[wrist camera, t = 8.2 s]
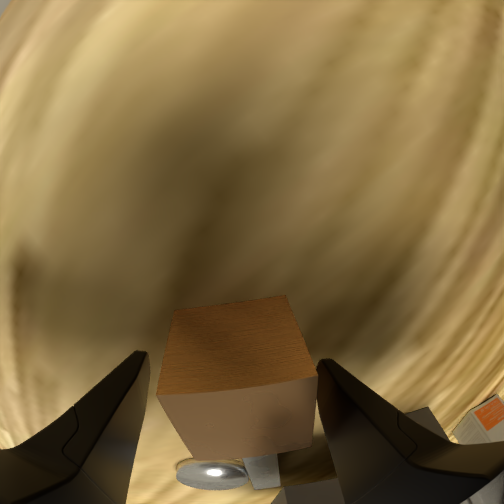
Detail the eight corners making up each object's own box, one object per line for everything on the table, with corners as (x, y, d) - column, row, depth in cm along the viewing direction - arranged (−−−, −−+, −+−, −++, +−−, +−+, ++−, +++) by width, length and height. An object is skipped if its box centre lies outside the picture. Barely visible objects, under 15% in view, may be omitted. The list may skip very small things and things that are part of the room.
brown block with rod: (285, 295, 10) (318, 375, 6) (291, 473, 16) (300, 514, 12) (174, 310, 10) (155, 394, 6) (240, 480, 16) (245, 522, 12)
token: (249, 452, 14) (251, 467, 13) (245, 477, 16) (246, 489, 15) (172, 451, 14) (171, 465, 13) (181, 476, 16) (181, 488, 14)
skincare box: (497, 391, 18) (543, 454, 7) (480, 414, 20) (520, 474, 9) (468, 409, 18) (517, 484, 7) (450, 432, 19) (491, 503, 8)
